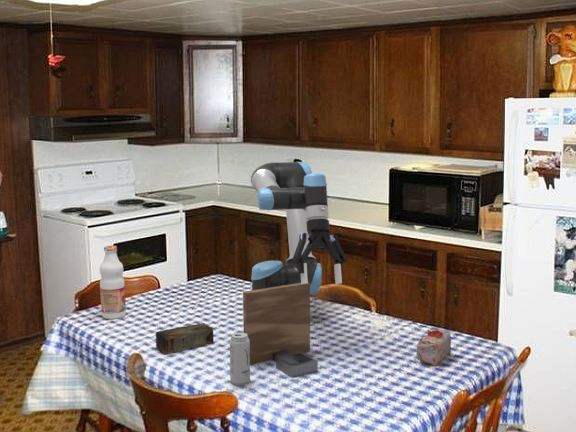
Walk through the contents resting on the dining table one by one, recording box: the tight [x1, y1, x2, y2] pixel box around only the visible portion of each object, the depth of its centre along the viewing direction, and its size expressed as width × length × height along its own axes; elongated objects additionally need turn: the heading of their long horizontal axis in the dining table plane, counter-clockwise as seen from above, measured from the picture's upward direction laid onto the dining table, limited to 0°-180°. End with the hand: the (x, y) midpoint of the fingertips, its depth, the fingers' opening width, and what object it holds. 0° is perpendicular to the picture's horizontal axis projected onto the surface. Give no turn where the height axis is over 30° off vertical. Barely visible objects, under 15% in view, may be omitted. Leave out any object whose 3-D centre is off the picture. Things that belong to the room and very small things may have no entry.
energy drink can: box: [229, 332, 251, 387], centre depth 210 cm, size 6×6×15 cm
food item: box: [416, 329, 452, 367], centre depth 229 cm, size 14×8×10 cm, turn 147°
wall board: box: [242, 282, 311, 366], centre depth 230 cm, size 2×24×24 cm, turn 121°
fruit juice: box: [99, 245, 127, 320], centre depth 275 cm, size 9×9×28 cm
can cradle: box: [272, 350, 319, 378], centre depth 224 cm, size 16×10×4 cm, turn 31°
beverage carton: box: [155, 322, 215, 355], centre depth 243 cm, size 8×19×7 cm, turn 124°
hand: (321, 283), depth 228 cm, fingers open, 13 cm apart
